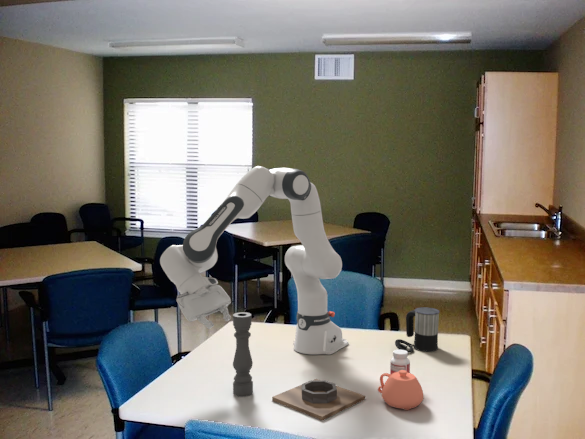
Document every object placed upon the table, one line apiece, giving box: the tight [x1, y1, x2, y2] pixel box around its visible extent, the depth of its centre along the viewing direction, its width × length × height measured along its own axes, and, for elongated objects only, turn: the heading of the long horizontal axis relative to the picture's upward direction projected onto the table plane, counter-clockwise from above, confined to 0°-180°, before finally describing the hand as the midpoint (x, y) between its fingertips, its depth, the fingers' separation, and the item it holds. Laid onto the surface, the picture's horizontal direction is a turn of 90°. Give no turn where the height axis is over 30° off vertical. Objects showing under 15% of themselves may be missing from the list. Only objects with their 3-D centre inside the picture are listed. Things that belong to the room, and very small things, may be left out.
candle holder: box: [232, 311, 254, 398], centre depth 193 cm, size 6×6×25 cm
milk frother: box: [394, 306, 441, 354], centre depth 234 cm, size 14×16×15 cm
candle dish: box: [271, 378, 366, 421], centre depth 188 cm, size 20×20×4 cm
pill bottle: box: [389, 348, 411, 375], centre depth 200 cm, size 6×6×11 cm
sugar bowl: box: [377, 370, 424, 411], centre depth 185 cm, size 12×14×10 cm
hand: (220, 323), depth 195 cm, fingers open, 8 cm apart
